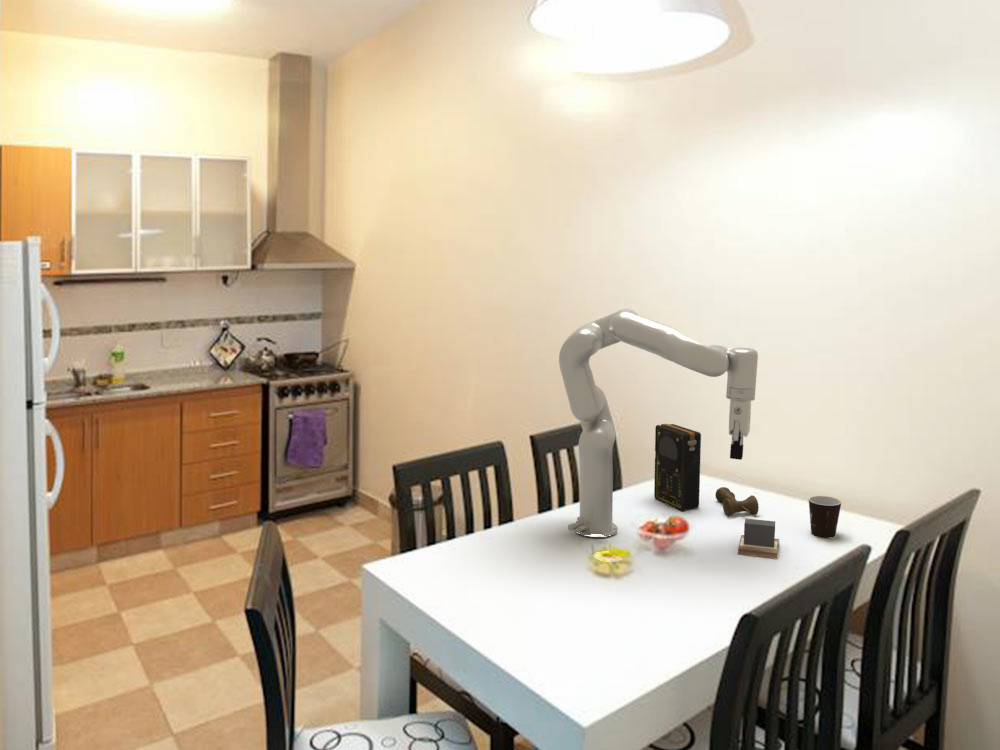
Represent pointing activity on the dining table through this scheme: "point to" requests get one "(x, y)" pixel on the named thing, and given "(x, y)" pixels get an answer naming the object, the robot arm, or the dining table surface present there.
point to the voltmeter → (677, 466)
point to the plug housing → (759, 532)
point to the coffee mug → (824, 515)
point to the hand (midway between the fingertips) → (736, 458)
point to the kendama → (736, 502)
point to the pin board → (758, 549)
